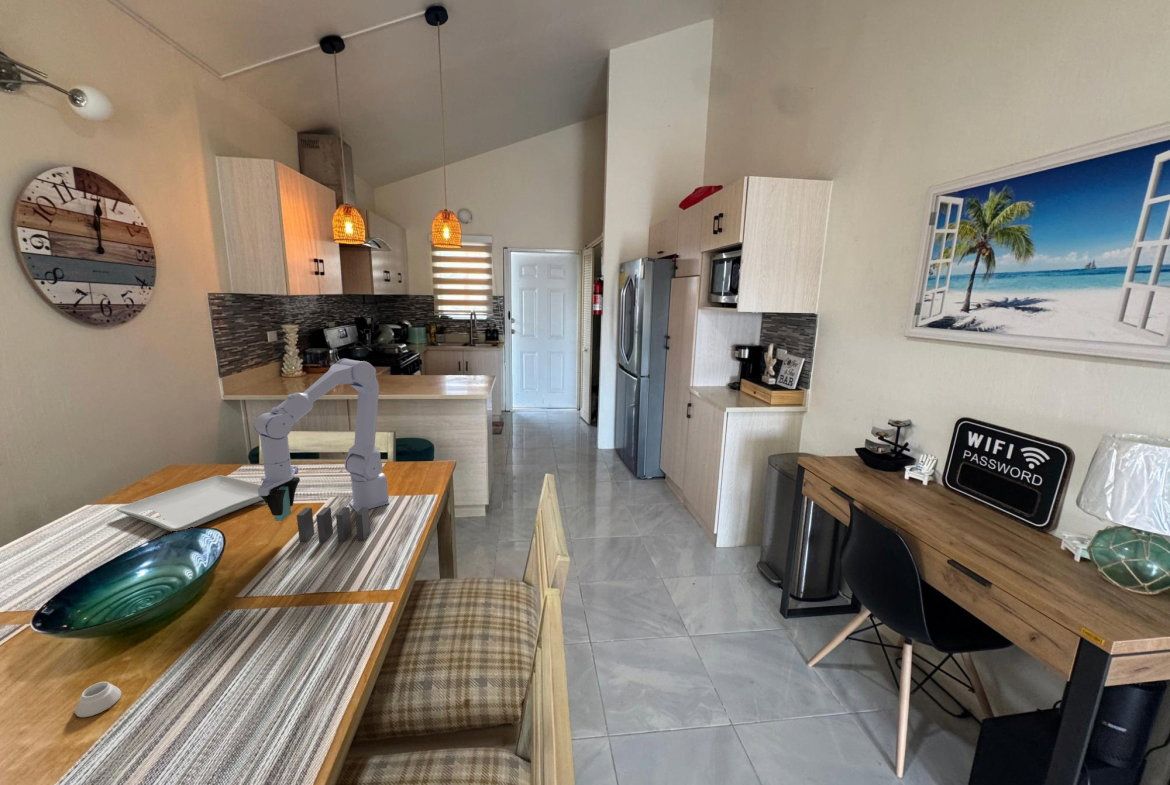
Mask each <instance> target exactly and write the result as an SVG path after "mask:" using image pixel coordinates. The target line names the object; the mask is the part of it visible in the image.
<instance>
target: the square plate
mask: <svg viewBox="0 0 1170 785" xmlns="http://www.w3.org/2000/svg"><path fill="white" fill-rule="evenodd" d="M260 486H261V484H258V483H254V482H251V481H247V480H243V479H240V478H235V477H230V476H226V475H222V474H220V475H219V474H218V475H214V476H211V477H208V478H205V479H201V480H198V481H193V482H190V483H187V484H184V485H181V486H178V487H175V488H172V489H168V490H165V491H163V492H160V493H159V492H158V493H156V494H154V495H150V496H147V497H145V498H141V499H139V500H136V501H133V502H130V503H128V504H124V505H122V506H119V507H117V508H115V510H116V511H117V512H120V513H122V514H124V515H126V516H128V517H131V518H134V519H138V520H141V521H144V522H146V523H149V524H152V525H155V526H157V527H160V528H161V529H164V530H166V531H169V532H172V531H176V530H179V529H185V528H190V527H193V528H195V527H197V526H201V525H203V524H206V523H208V522H210V521H214V520H215V519H218V518H221V517H223V516H225V515H228V514H231V513H233V512H236V511H239V510H241V509H243V508H245V507H248V506H250V505H253V504H256V503H258V502H260V501H262V500H263V501H264V499H263V498H262V497H261V496H259V495H258V488H259V487H260ZM146 510H147V511H148V510H150V511H151V510H154V511H155V512H157V513H159V516H160V515H161V517H162V516H163V518H164V517H165V520H163V519H159V518H154V517H149V516H145V515H140V514H138V513H140V512H141V511H142V512H143V511H146ZM152 512H153V511H152Z"/></svg>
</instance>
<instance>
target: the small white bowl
mask: <svg viewBox="0 0 1170 785" xmlns="http://www.w3.org/2000/svg"><path fill="white" fill-rule="evenodd" d="M121 696H122V691H121V689H120V688H119V687H117V686H116V685H114V684H112V683H110V682H109V681H99V682H96V683H94V684H92V685H90V686H88V687H87V688H86V689H84V690H83V691H82V693H81V696H80V697H79V700H78V702H77V705H76V707H75V710H74V713H75V715H76V717H80V718H87V717H92V716H95V715H97V714H98V715H99V714H100V713H103V711H106V710H108V709H110V708H111V707H112V706H113V705H115V704H116V703H118V701H119V700H120V698H121Z"/></svg>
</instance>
